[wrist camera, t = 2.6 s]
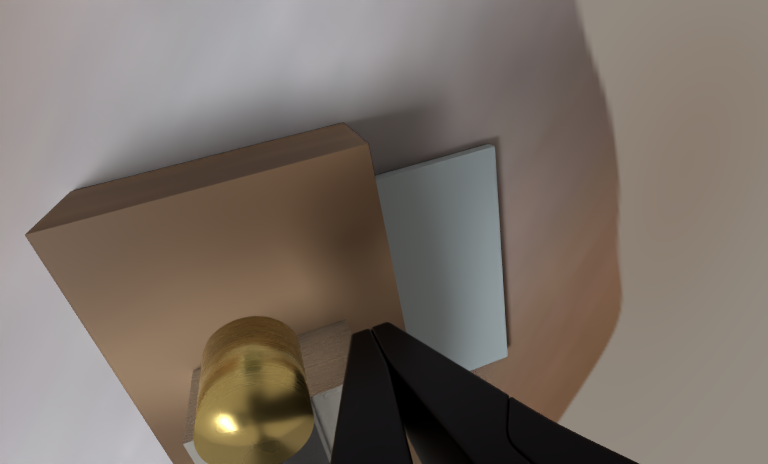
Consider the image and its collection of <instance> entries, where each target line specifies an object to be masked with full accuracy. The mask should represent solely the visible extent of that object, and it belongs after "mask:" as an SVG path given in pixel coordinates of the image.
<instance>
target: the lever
mask: <svg viewBox="0 0 768 464" xmlns="http://www.w3.org/2000/svg"><path fill="white" fill-rule="evenodd" d="M193 440H194V446H195V449H196V451H197V453H198V455H199V456H200V457H201V458H202V459H203V460H204V461H205V462H206V463H208V464H330V460H331V453H330V451H329V448H328V445H327V443H326V440H325V437H324V434H323V432H322V429H321V426H320V424H319V421H318V418H317V416H316V413H315V410H314V407H313V405H312V402H311V398H310V393H309V388H308V383H307V378H306V373H305V368H304V363H303V358H302V353H301V348H300V343H299V340H298V337H297V335H296V334H295V332H294V331H293V330H292V329H291V328H290V327H289V326H288V325H286V324H285V323H283V322H282V321H279V320H277V319H274V318H270V317H265V316H250V317H243V318H240V319H236V320H234V321H231V322H229V323H227V324H225V325H224V326H222V327H221V328H219V329H218V330H217V331H216V332H214V334H213V335H212V336H211V337H210V338H209V340H208V341H207V343H206V345H205V347H204V350H203V354H202V362H201V371H200V381H199V390H198V399H197V408H196V417H195V426H194V435H193Z"/></svg>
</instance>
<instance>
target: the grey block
mask: <svg viewBox="0 0 768 464" xmlns="http://www.w3.org/2000/svg"><path fill="white" fill-rule="evenodd" d="M351 335H352V334H351V332H350V329H349V326H348V324H347V321H346V318H345V319H342V320H340V321H337V322H334V323H331V324H328V325H325V326H322V327H319V328H316V329H313V330H310V331H307V332H304V333H302V334H299V335H297V337H298V340H299V343H300V348H301V353H302V358H303V363H304V368H305V373H306V378H307V383H308V388H309V393H310V398H311V402H312V405H313V407H314V410H315V413H316V416H317V418H318V421H319V424H320V426H321V429H322V432H323V434H324V437H325V440H326V443H327V445H328V448H329V451H330V453H331V454H332V448H333V442H334V436H335V430H336V424H337V418H338V412H339V406H340V400H341V393H342V387H343V381H344V375H345V369H346V363H347V357H348V351H349V345H350V339H351ZM200 371H201V368H199V369H196V370H193V373H192V380H191V388H190V395H189V403H188V410H187V418H186V425H185V433H184V440H183V445H184V447H185V448H186V450H187V452H188V453H189V455H190V457H191V458H192V460H193V462H194V463H195V464H208V463H206V462H205V461H204V460H203V459H202V458H201V457H200V456H199V455H198V453H197V451H196V449H195V446H194V440H193V435H194V426H195V417H196V408H197V399H198V390H199V381H200Z"/></svg>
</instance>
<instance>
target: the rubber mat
mask: <svg viewBox="0 0 768 464" xmlns="http://www.w3.org/2000/svg"><path fill="white" fill-rule="evenodd" d="M375 179H376V184H377V189H378V194H379V199H380V204H381V209H382V214H383V219H384V224H385V229H386V234H387V239H388V244H389V249H390V254H391V259H392V264H393V269H394V274H395V279H396V284H397V289H398V294H399V299H400V304H401V309H402V314H403V319H404V324H405V329H406V332H407V333H408V334H410V335H412V336H413V337H415V338H416V339H418V340H420V341H421V342H423V343H425V344H426V345H428V346H429V347H431V348H433V349H434V350H436V351H438V352H439V353H441V354H442V355H444V356H446V357H447V358H449V359H451V360H452V361H454V362H456V363H457V364H459V365H460V366H462V367H464V368H465V369H467V370H469V371H471V370H474V369H476V368H479V367H481V366H484V365H487V364H489V363H492V362H494V361H497V360H499V359H502V358H505V357H507V340H506V323H505V306H504V290H503V273H502V256H501V240H500V223H499V207H498V190H497V173H496V157H495V146H493V145H491V144H486V145H483V146H479V147H476V148H472V149H469V150H465V151H461V152H458V153H454V154H451V155H447V156H444V157H440V158H437V159H433V160H429V161H426V162H422V163H419V164H415V165H412V166H408V167H405V168H401V169H397V170H394V171H390V172H387V173H383V174H380V175H376V176H375Z"/></svg>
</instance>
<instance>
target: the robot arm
mask: <svg viewBox="0 0 768 464" xmlns="http://www.w3.org/2000/svg"><path fill="white" fill-rule="evenodd" d="M406 434H407V436H408V438H409V440H410V442H411V444H412V446H413V448H414V450H415V452H416V454H417V456H418V458H419V460H420V461H421V463H422V464H639V463H637V462H635V461H633V460H631V459H628V458H626V457H624V456H622V455H620V454H618V453H616V452H614V451H611V450H610V449H608V448H606V447H603V446H601V445H599V444H597V443H595V442H593V441H591V440H589V439H587V438H585V437H583V436H581V435H579V434H577V433H575V432H573V431H571V430H569V429H567V428H565V427H563V426H561V425H559V424H557V423H555V422H554V421H552V420H550V419H548V418H547V417H545V416H543V415H541V414H540V413H538V412H536V411H534V410H533V409H531V408H529V407H528V406H526V405H524V404H523V403H521V402H519V401H518V400H516V399H515V398H513V397H510V398H509V395H508V394H506V393H504V392H503V391H501V390H500V389H498V388H496V387H495V386H493V385H491V384H490V383H488V382H487V381H485V380H483V379H482V378H480V377H478V376H477V375H475V374H473V373H472V372H470V371H469V370H467V369H465V368H464V367H462V366H460V365H459V364H457V363H456V362H454V361H452V360H451V359H449V358H447V357H446V356H444V355H442V354H441V353H439V352H438V351H436V350H434V349H433V348H431V347H429V346H428V345H426V344H425V343H423V342H421V341H420V340H418V339H416V338H415V337H413V336H412V335H410V334H408V333H407V332H405V331H403V330H402V329H400V328H398V327H397V326H395V325H394V324H392V323H390V322H384V323H382V324H379V325H376V326H373V327H372V328H371V330H370V329H364V330H361V331H358V332H355V333H353V334H352V335H351V339H350V345H349V351H348V357H347V363H346V369H345V375H344V381H343V387H342V393H341V400H340V406H339V412H338V418H337V424H336V430H335V436H334V442H333V448H332V454H331V460H330V464H413V460H412V456H411V452H410V448H409V444H408V440H407V436H406Z"/></svg>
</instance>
